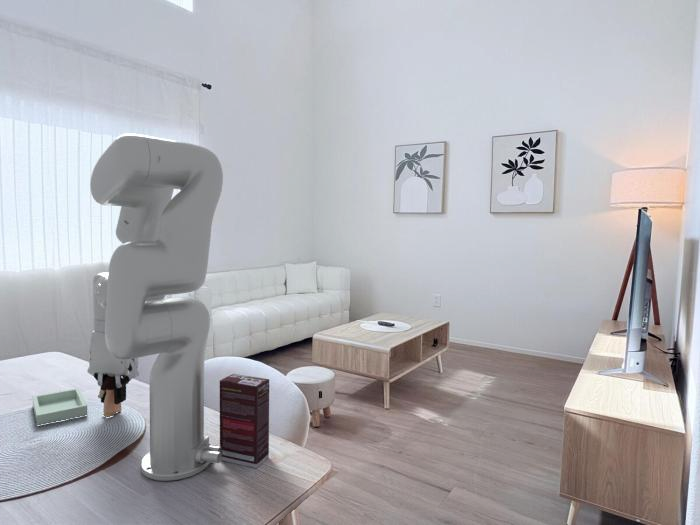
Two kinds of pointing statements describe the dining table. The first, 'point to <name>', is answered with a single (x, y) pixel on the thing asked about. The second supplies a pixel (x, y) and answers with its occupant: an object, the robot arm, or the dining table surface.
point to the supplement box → (244, 420)
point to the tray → (59, 406)
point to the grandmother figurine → (109, 396)
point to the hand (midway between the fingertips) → (113, 400)
